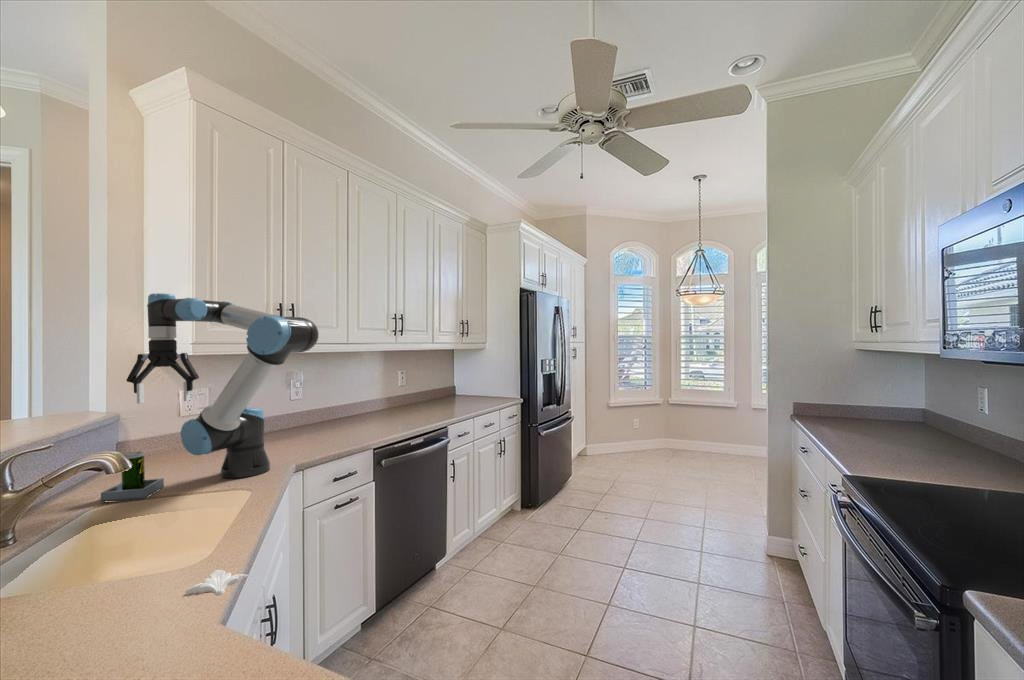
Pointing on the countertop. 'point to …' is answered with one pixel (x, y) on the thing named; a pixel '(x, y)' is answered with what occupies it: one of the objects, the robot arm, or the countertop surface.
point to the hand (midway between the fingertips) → (164, 401)
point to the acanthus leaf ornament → (216, 583)
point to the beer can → (134, 472)
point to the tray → (132, 491)
